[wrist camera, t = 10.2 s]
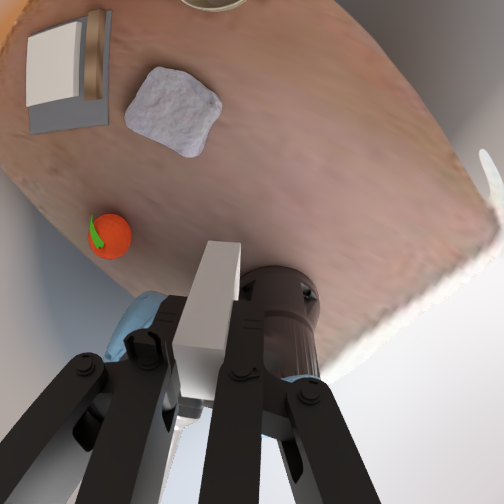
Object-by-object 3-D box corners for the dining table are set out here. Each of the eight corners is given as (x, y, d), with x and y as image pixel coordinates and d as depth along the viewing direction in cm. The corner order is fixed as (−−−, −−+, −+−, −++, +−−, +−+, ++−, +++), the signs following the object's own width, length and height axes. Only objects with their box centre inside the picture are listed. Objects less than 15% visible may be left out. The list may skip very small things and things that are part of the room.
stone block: (159, 64, 37) (126, 125, 39) (152, 56, 32) (115, 124, 35) (233, 99, 39) (197, 161, 42) (234, 93, 35) (194, 163, 37)
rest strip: (102, 98, 37) (95, 99, 35) (91, 100, 37) (84, 101, 35) (106, 11, 30) (100, 8, 28) (95, 13, 30) (88, 11, 28)
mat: (108, 124, 39) (107, 124, 39) (31, 134, 39) (30, 135, 39) (112, 10, 30) (111, 10, 30) (32, 34, 30) (30, 34, 30)
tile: (73, 96, 35) (26, 106, 35) (79, 95, 36) (33, 105, 36) (76, 21, 29) (28, 37, 29) (82, 22, 30) (34, 38, 31)
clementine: (90, 210, 46) (68, 229, 39) (122, 194, 44) (101, 211, 38) (113, 251, 49) (95, 274, 43) (145, 238, 48) (129, 261, 41)
